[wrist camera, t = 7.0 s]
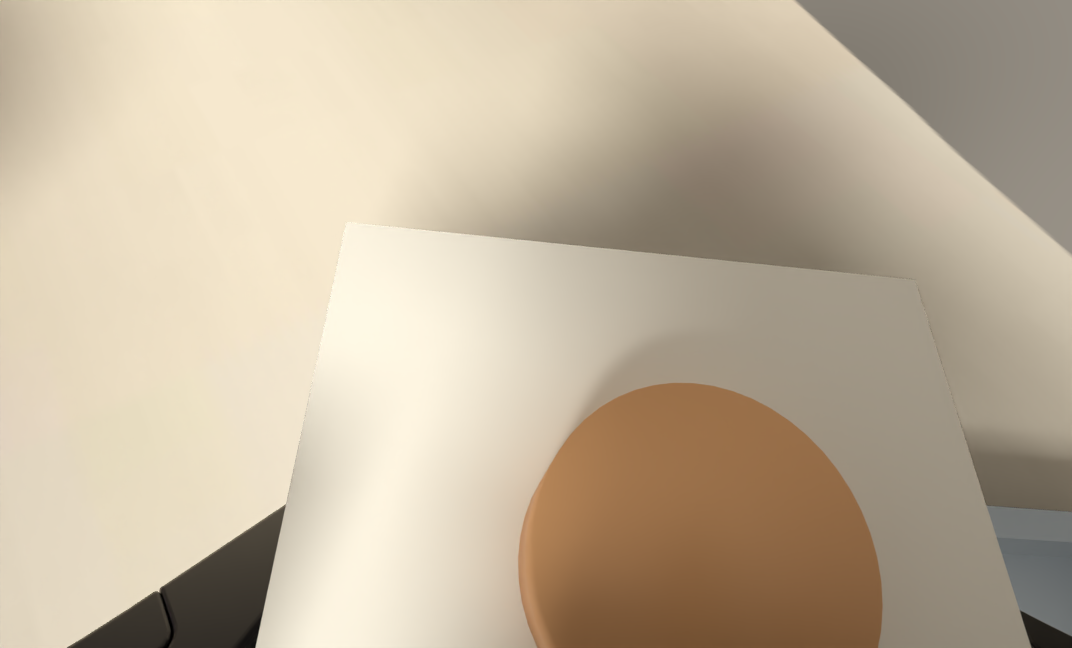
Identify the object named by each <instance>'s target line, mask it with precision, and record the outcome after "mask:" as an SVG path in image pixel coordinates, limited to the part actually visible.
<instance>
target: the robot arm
mask: <svg viewBox="0 0 1072 648" xmlns="http://www.w3.org/2000/svg"><path fill="white" fill-rule="evenodd" d="M285 507H286V505H284V506H283V507H281V508H280V509H278V510H277V511H275V512H274V513H272V514H271V515H269V516H268V517H266V518H265V519H263V520H262V521H260V522H259V523H257V524H256V525H254V526H253V527H251V528H250V529H248V530H247V531H245V532H244V533H242V534H241V535H239V536H238V537H236V538H235V539H233V540H232V541H230V542H229V543H227V544H226V545H224V546H223V547H221V548H220V549H218V550H217V551H215V552H214V553H212V554H211V555H209V556H208V557H206V558H205V559H203V560H202V561H200V562H199V563H197V564H196V565H194V566H193V567H191V568H190V569H188V570H187V571H185V572H184V573H182V574H181V575H179V576H178V577H176V578H175V579H173V580H172V581H170V582H169V583H167V584H166V585H164V586H163V587H161V588H160V591H159V592H157V591H156V592H153V593H152V594H150V595H149V596H147V597H146V598H144V599H143V600H141V601H140V602H138V603H137V604H135V605H134V606H132V607H131V608H129V609H128V610H126V611H124V612H123V613H121V614H120V615H118V616H117V617H115V618H114V619H112V620H110V621H109V622H107V623H106V624H104V625H103V626H101V627H99V628H98V629H96V630H95V631H93V632H92V633H90V634H88V635H87V636H85V637H84V638H82V639H81V640H79V641H77V642H75V643H74V644H72V645H70V646H69V647H67V648H256V643H257V638H258V634H259V629H260V624H261V620H262V615H263V610H264V605H265V601H266V596H267V591H268V587H269V582H270V577H271V573H272V568H273V563H274V559H275V554H276V549H277V544H278V540H279V535H280V530H281V526H282V521H283V516H284V512H285ZM1020 613H1021V616H1022V620H1023V623H1024V626H1025V629H1026V632H1027V635H1028V639H1029V642H1030V645H1031V648H1072V636H1070V635H1068V634H1066V633H1064V632H1062V631H1060V630H1058V629H1056V628H1054V627H1052V626H1050V625H1048V624H1046V623H1044V622H1042V621H1040V620H1038V619H1037V618H1035V617H1033V616H1031V615H1029V614H1027V613H1025V612H1023V611H1021V610H1020Z"/></svg>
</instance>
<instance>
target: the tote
mask: <svg viewBox="0 0 1072 648" xmlns="http://www.w3.org/2000/svg"><path fill="white" fill-rule="evenodd" d="M987 509H988V512H989V515H990V518H991V521H992V525H993V528H994V531H995V534H996V537H997V540H998V544H999V547H1000V550H1001V553H1002V556H1003V559H1004V563H1005V566H1006V569H1007V572H1008V575H1009V578H1010V582H1011V585H1012V588H1013V591H1014V594H1015V597H1016V601H1017V604H1018V607H1019V610H1021V611H1023V612H1025V613H1027V614H1029V615H1031V616H1033V617H1035V618H1037V619H1038V620H1040V621H1042V622H1044V623H1046V624H1048V625H1050V626H1052V627H1054V628H1056V629H1058V630H1060V631H1062V632H1064V633H1066V634H1068V635H1070V636H1072V512H1067V511H1054V510H1040V509H1027V508H1013V507H1000V506H987Z"/></svg>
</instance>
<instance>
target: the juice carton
mask: <svg viewBox="0 0 1072 648" xmlns="http://www.w3.org/2000/svg"><path fill="white" fill-rule="evenodd" d="M256 648H1031V645H1030V642H1029V639H1028V635H1027V632H1026V629H1025V626H1024V623H1023V620H1022V616H1021V613H1020V610H1019V607H1018V604H1017V601H1016V597H1015V594H1014V591H1013V588H1012V585H1011V582H1010V578H1009V575H1008V572H1007V569H1006V566H1005V563H1004V559H1003V556H1002V553H1001V550H1000V547H999V544H998V540H997V537H996V534H995V531H994V528H993V525H992V521H991V518H990V515H989V512H988V509H987V506H986V502H985V499H984V496H983V493H982V490H981V487H980V483H979V480H978V477H977V474H976V471H975V468H974V464H973V461H972V458H971V455H970V452H969V449H968V445H967V442H966V439H965V436H964V433H963V430H962V426H961V423H960V420H959V417H958V414H957V411H956V407H955V404H954V401H953V398H952V395H951V392H950V388H949V385H948V382H947V379H946V376H945V373H944V369H943V366H942V363H941V360H940V357H939V354H938V350H937V347H936V344H935V341H934V338H933V335H932V331H931V328H930V325H929V322H928V319H927V316H926V312H925V309H924V306H923V303H922V300H921V297H920V293H919V290H918V287H917V284H916V281H915V280H914V279H904V278H895V277H885V276H875V275H865V274H855V273H845V272H835V271H825V270H815V269H806V268H796V267H786V266H776V265H766V264H756V263H746V262H736V261H726V260H717V259H707V258H697V257H687V256H677V255H667V254H657V253H647V252H638V251H628V250H618V249H608V248H598V247H588V246H578V245H568V244H558V243H549V242H539V241H529V240H519V239H509V238H499V237H489V236H479V235H469V234H460V233H450V232H440V231H430V230H420V229H410V228H400V227H390V226H380V225H371V224H361V223H351V222H346V225H345V230H344V234H343V239H342V244H341V249H340V253H339V258H338V263H337V267H336V272H335V277H334V281H333V286H332V291H331V296H330V300H329V305H328V310H327V314H326V319H325V324H324V328H323V333H322V338H321V342H320V347H319V352H318V357H317V361H316V366H315V371H314V375H313V380H312V385H311V389H310V394H309V399H308V404H307V408H306V413H305V418H304V422H303V427H302V432H301V436H300V441H299V446H298V450H297V455H296V460H295V465H294V469H293V474H292V479H291V483H290V488H289V493H288V497H287V502H286V507H285V512H284V516H283V521H282V526H281V530H280V535H279V540H278V544H277V549H276V554H275V559H274V563H273V568H272V573H271V577H270V582H269V587H268V591H267V596H266V601H265V605H264V610H263V615H262V620H261V624H260V629H259V634H258V638H257V643H256Z"/></svg>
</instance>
